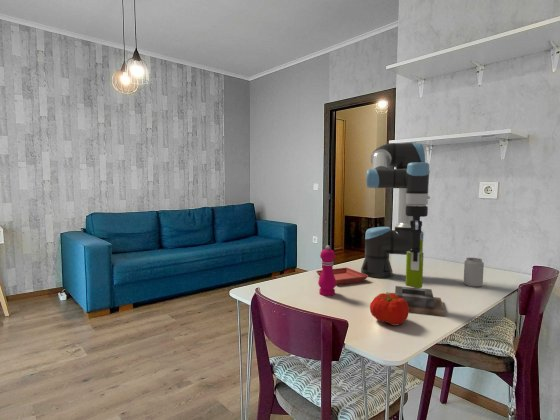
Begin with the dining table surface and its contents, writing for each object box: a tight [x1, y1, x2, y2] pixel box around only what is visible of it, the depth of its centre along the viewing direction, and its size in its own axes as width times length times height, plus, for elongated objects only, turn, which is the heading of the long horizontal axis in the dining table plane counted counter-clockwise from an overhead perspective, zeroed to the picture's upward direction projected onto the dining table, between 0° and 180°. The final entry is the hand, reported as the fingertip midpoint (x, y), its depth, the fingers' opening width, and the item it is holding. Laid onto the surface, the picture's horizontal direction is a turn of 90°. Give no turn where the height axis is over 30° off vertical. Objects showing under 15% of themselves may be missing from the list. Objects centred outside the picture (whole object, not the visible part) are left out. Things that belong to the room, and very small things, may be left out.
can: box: [463, 257, 485, 288], centre depth 160 cm, size 8×8×12 cm
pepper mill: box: [317, 244, 337, 297], centre depth 146 cm, size 7×7×20 cm
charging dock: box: [385, 285, 446, 317], centre depth 133 cm, size 20×16×5 cm
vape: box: [405, 234, 424, 289], centre depth 132 cm, size 4×6×20 cm, turn 43°
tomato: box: [369, 292, 410, 326], centre depth 118 cm, size 13×12×8 cm
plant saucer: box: [315, 267, 368, 286], centre depth 169 cm, size 18×18×3 cm
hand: (414, 268), depth 132 cm, fingers closed on vape, 5 cm apart
